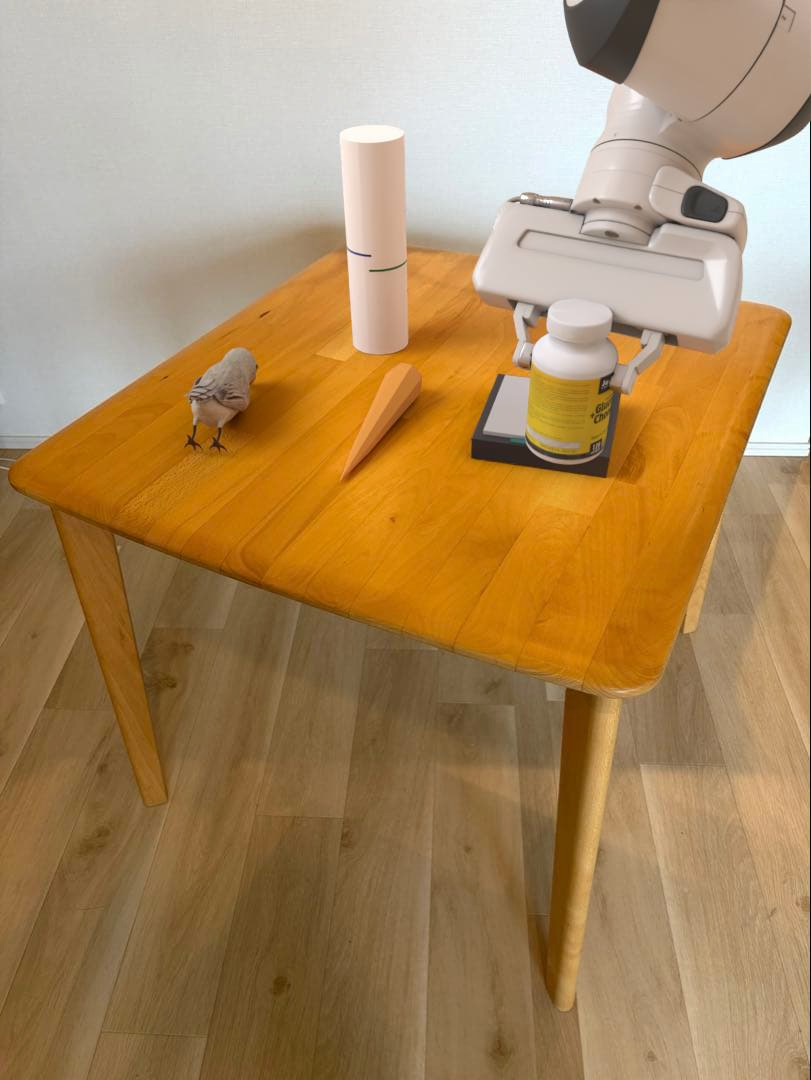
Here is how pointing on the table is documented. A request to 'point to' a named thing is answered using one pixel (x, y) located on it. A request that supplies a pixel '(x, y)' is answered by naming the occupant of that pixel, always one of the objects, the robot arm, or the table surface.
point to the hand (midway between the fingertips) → (570, 379)
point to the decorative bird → (222, 392)
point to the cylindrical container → (376, 236)
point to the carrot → (385, 410)
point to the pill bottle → (571, 383)
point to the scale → (507, 426)
